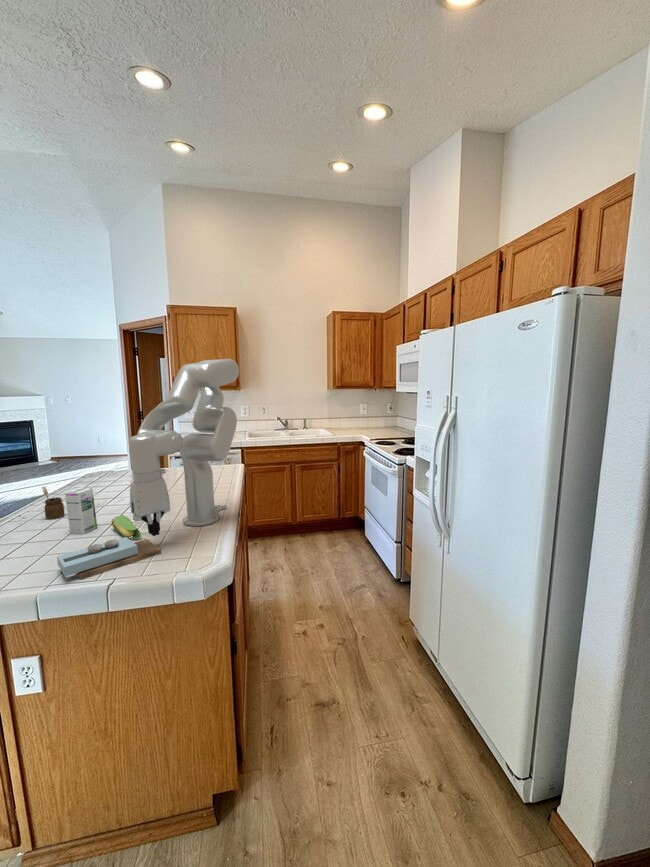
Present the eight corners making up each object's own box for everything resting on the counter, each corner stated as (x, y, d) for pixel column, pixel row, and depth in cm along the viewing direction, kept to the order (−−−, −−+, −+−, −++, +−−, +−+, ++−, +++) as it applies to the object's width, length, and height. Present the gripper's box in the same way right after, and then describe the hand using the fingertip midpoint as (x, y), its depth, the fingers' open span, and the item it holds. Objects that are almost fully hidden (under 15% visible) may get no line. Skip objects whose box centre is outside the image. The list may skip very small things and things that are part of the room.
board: (147, 542, 114) (145, 526, 114) (161, 553, 107) (159, 535, 106) (70, 565, 100) (68, 546, 100) (80, 579, 93) (78, 559, 92)
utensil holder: (57, 519, 138) (53, 488, 136) (40, 519, 138) (37, 488, 136) (68, 514, 143) (65, 484, 142) (52, 514, 144) (49, 484, 142)
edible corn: (126, 513, 131) (112, 512, 127) (145, 529, 116) (129, 529, 113) (122, 527, 130) (108, 527, 127) (141, 545, 116) (125, 545, 113)
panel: (127, 544, 109) (126, 536, 109) (137, 553, 103) (137, 545, 103) (57, 565, 97) (56, 556, 97) (65, 576, 91) (64, 567, 91)
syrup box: (83, 534, 123) (79, 492, 121) (69, 533, 124) (64, 491, 122) (97, 527, 128) (93, 487, 126) (83, 527, 129) (78, 486, 127)
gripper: (167, 468, 117) (173, 523, 120) (115, 480, 106) (124, 539, 109) (177, 472, 111) (184, 529, 115) (124, 484, 101) (133, 547, 104)
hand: (154, 534), depth 112 cm, fingers closed
